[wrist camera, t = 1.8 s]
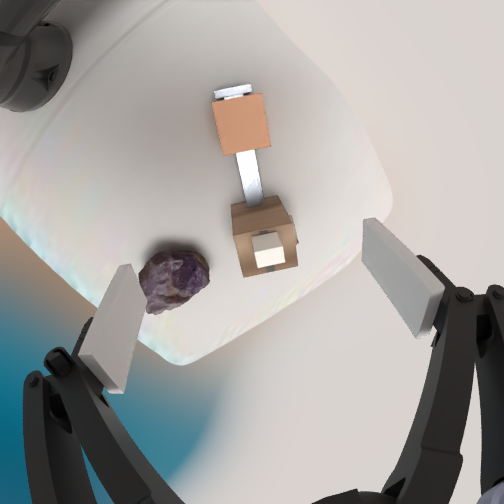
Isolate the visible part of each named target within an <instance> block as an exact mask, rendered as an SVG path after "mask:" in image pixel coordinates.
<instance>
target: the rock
mask: <svg viewBox="0 0 504 504" xmlns="http://www.w3.org/2000/svg"><path fill="white" fill-rule="evenodd" d="M209 269H210V268H209V266H208V264H207V263H206V260H205V259H204V258H203V257H202V256H201V255H200V254H198V253H193V252H185V253H183V252H173V251H168V252H159V253H157V254H155V255H154V256H153V257H152V258H150V259H149V261H148V262H147V263H146V264H145V266H144V268H143V269H142V270H141V271H140V272H139V283H140V286H141V288H142V290H143V293H144V295H145V297H146V299H147V301H148V302H147V305H146V312H147V313H148V314H151V313H153V314H154V315H157V314H161V313H162V312H163V311H164V310H172V309H173V308H177V307H179V306H181V305H182V304H184V303H185V302H187V301H188V300H189V299H190V298H191V297H192V296H193V295H195V294H196V293H198V292H199V291H200V290H201V289H202V288H205V287H206V286H207V285H208V284H209V282H210V280H209V276H210V275H209Z"/></svg>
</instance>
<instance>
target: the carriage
mask: <svg viewBox="0 0 504 504" xmlns="http://www.w3.org/2000/svg"><path fill="white" fill-rule="evenodd" d="M212 108H213V112H214V117H215V121H216V126H217V130H218V134H219V139H220V143H221V148H222V152H223V156H226V155H231V154H235V153H240V152H245V151H250V150H255V149H261V148H266V147H271V142H270V136H269V131H268V125H267V120H266V114H265V109H264V104H263V99H262V94H261V93H258V94H252V95H247V96H241V97H236V98H231V99H226V100H221V101H217V102H212Z"/></svg>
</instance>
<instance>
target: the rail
mask: <svg viewBox="0 0 504 504" xmlns="http://www.w3.org/2000/svg"><path fill="white" fill-rule="evenodd" d="M250 92H252V89H251V84H247V85H242V86H236V87H231V88H226V89H221V90H217V91H214V93H215V98H216V99H221V98H224V100H226V99H231V98H236V97H241V96H243V94H246V93H250ZM236 156H237V161H238V165H239V170H240V175H241V180H242V184H243V189H244V194H245V199H246V203H247V208H249V207H253V206H258V205H263V204H264V199H263V193H262V188H261V183H260V177H259V172H258V167H257V161H256V156H255V151H254V150H250V151H245V152H240V153H236Z"/></svg>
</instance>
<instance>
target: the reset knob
mask: <svg viewBox="0 0 504 504" xmlns="http://www.w3.org/2000/svg"><path fill="white" fill-rule="evenodd" d="M251 238H252V243H253V248H254V253H255V258H256V262H257V267H258V268H261V267H265V266H270V265H275V264H279V263H284V262H285V258H284V251H283V246H282V243H281V240H280V238H279V235H278V233H277V232H273V233H268V234H263V235H258V236H254V237H251Z"/></svg>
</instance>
